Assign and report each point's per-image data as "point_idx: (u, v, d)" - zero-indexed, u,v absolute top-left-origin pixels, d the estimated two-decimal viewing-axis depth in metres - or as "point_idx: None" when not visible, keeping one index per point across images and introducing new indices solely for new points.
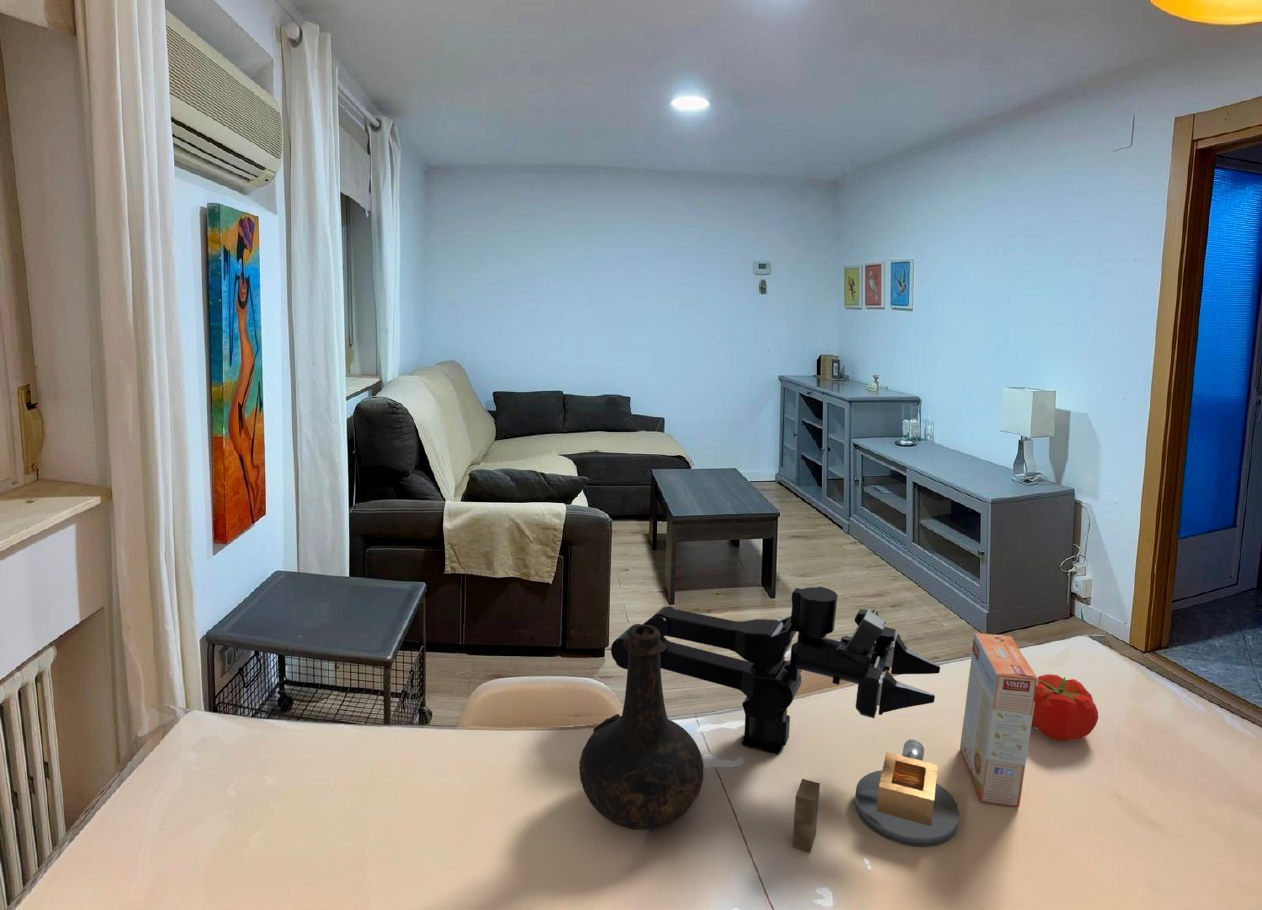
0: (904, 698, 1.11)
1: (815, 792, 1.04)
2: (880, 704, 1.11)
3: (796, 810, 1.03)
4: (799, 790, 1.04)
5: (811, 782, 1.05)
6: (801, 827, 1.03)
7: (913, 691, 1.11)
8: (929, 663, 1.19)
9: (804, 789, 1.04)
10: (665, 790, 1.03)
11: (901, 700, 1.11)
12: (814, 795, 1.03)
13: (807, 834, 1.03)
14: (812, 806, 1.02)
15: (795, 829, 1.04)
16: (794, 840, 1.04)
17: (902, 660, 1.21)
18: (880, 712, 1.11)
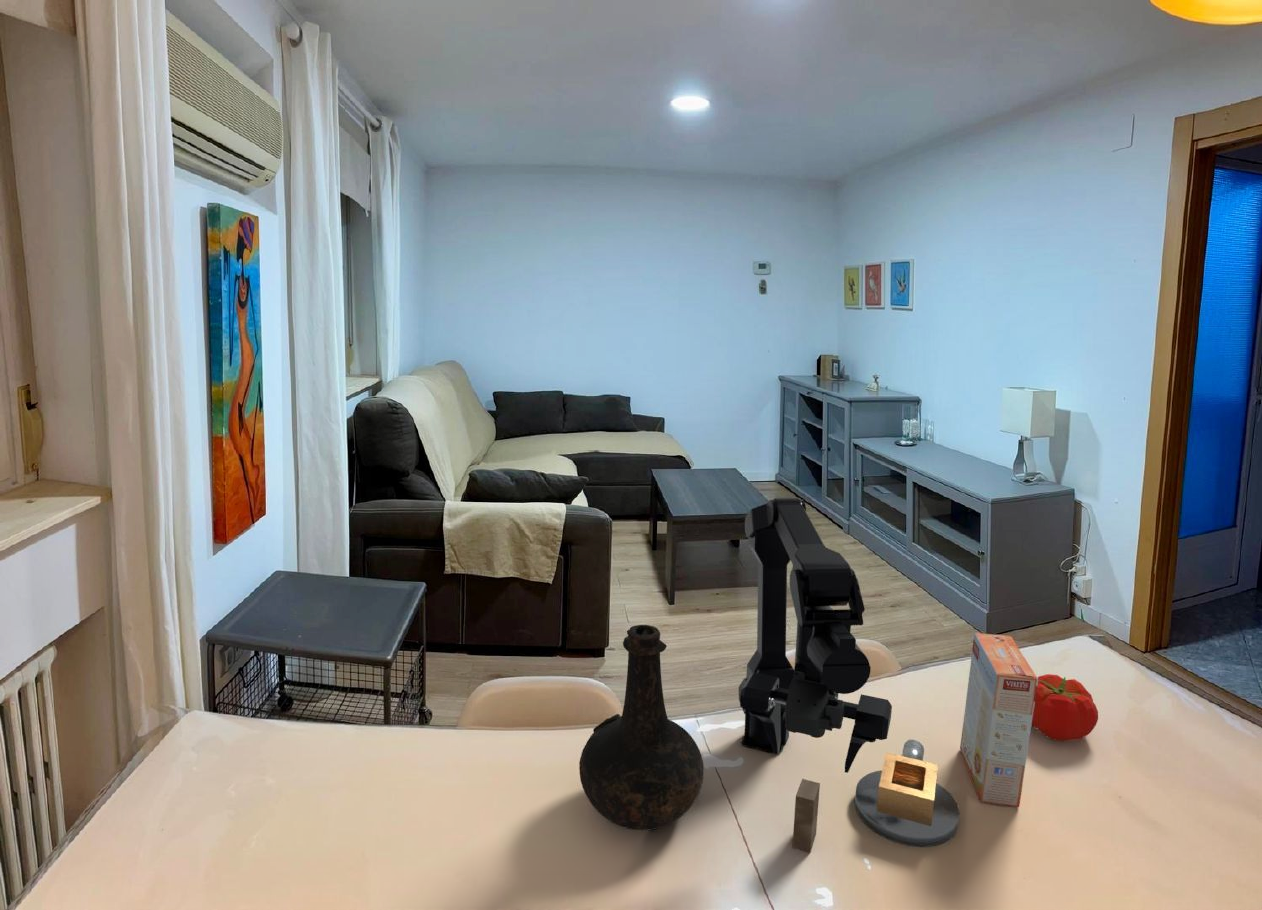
0: None
1: (815, 792, 1.04)
2: None
3: (796, 810, 1.03)
4: (799, 790, 1.04)
5: (811, 782, 1.05)
6: (801, 827, 1.03)
7: (768, 736, 1.04)
8: (845, 762, 1.00)
9: (804, 789, 1.04)
10: (665, 790, 1.03)
11: None
12: (814, 795, 1.03)
13: (807, 834, 1.03)
14: (812, 806, 1.02)
15: (795, 829, 1.04)
16: (794, 840, 1.04)
17: None
18: None
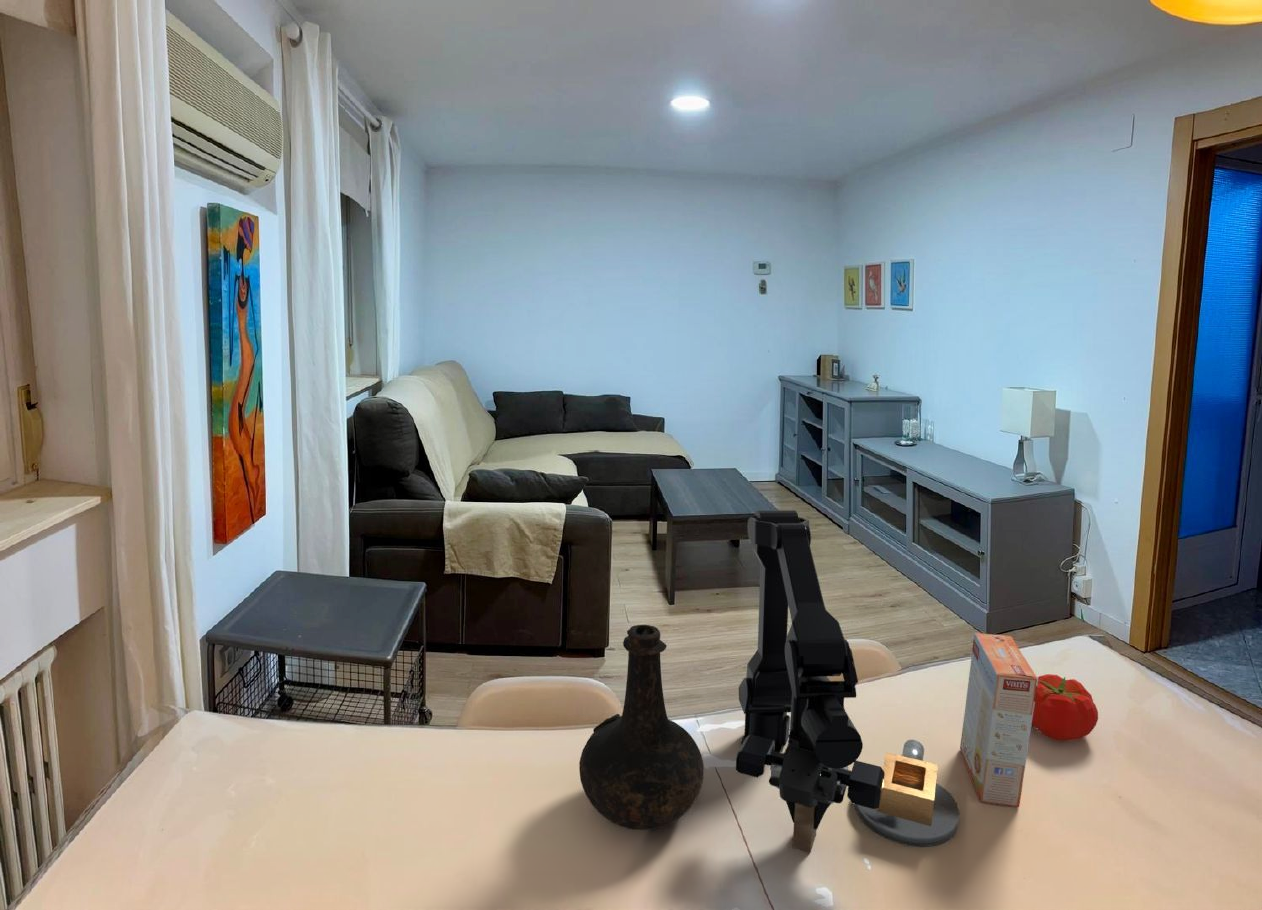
0: None
1: None
2: None
3: (796, 810, 1.03)
4: None
5: None
6: (801, 826, 1.03)
7: None
8: (814, 820, 1.04)
9: None
10: (665, 789, 1.03)
11: None
12: None
13: (807, 834, 1.03)
14: None
15: (795, 829, 1.04)
16: (794, 840, 1.04)
17: None
18: None
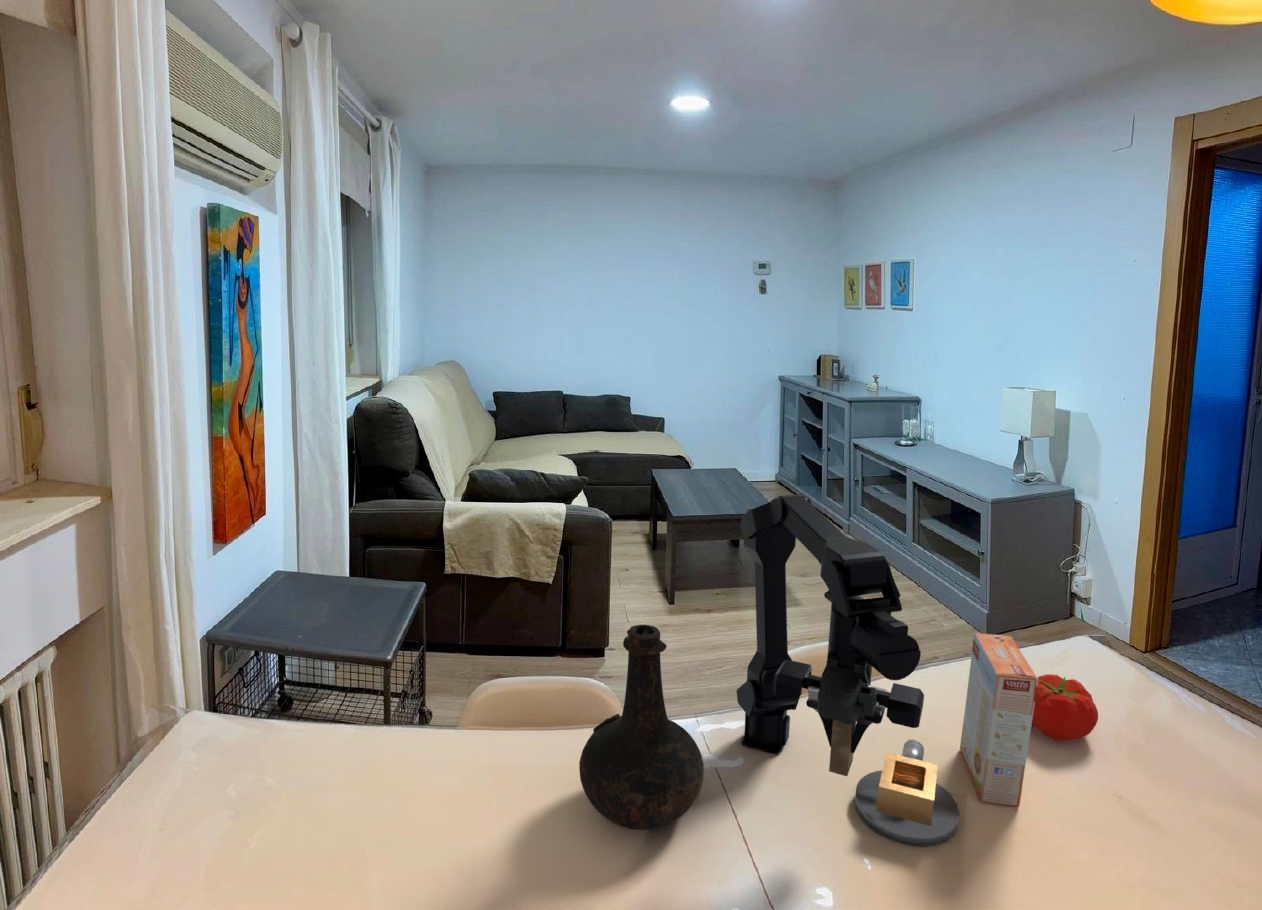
0: None
1: None
2: None
3: (833, 732, 1.03)
4: None
5: None
6: (838, 749, 1.03)
7: (824, 728, 1.04)
8: None
9: None
10: (665, 789, 1.03)
11: None
12: None
13: (844, 757, 1.03)
14: (850, 728, 1.01)
15: (832, 752, 1.03)
16: (831, 763, 1.04)
17: None
18: None
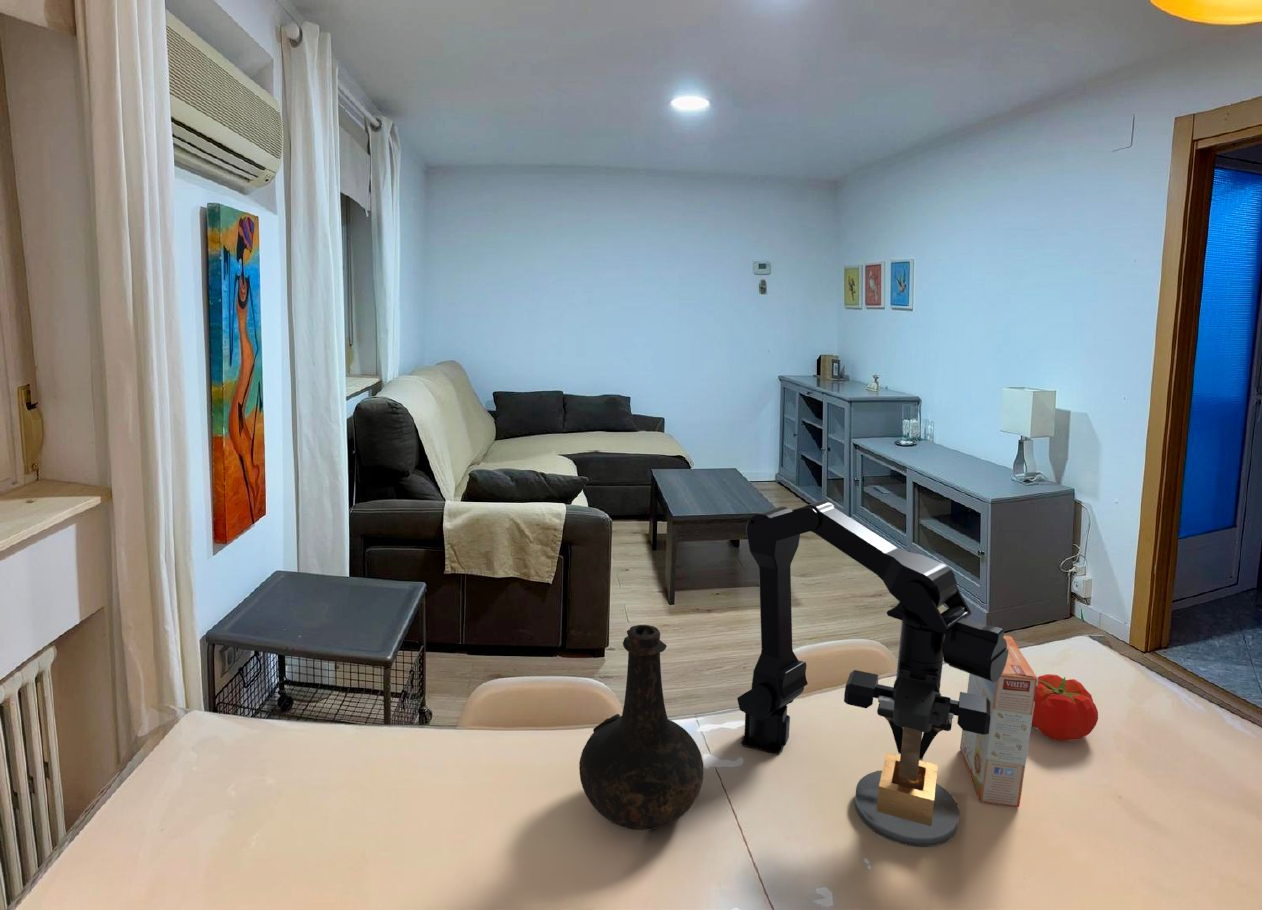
0: None
1: None
2: None
3: (903, 739, 1.08)
4: None
5: None
6: (908, 755, 1.08)
7: None
8: (920, 749, 1.08)
9: None
10: (665, 790, 1.03)
11: None
12: None
13: (914, 763, 1.08)
14: (920, 735, 1.06)
15: (902, 758, 1.08)
16: (900, 769, 1.09)
17: None
18: None
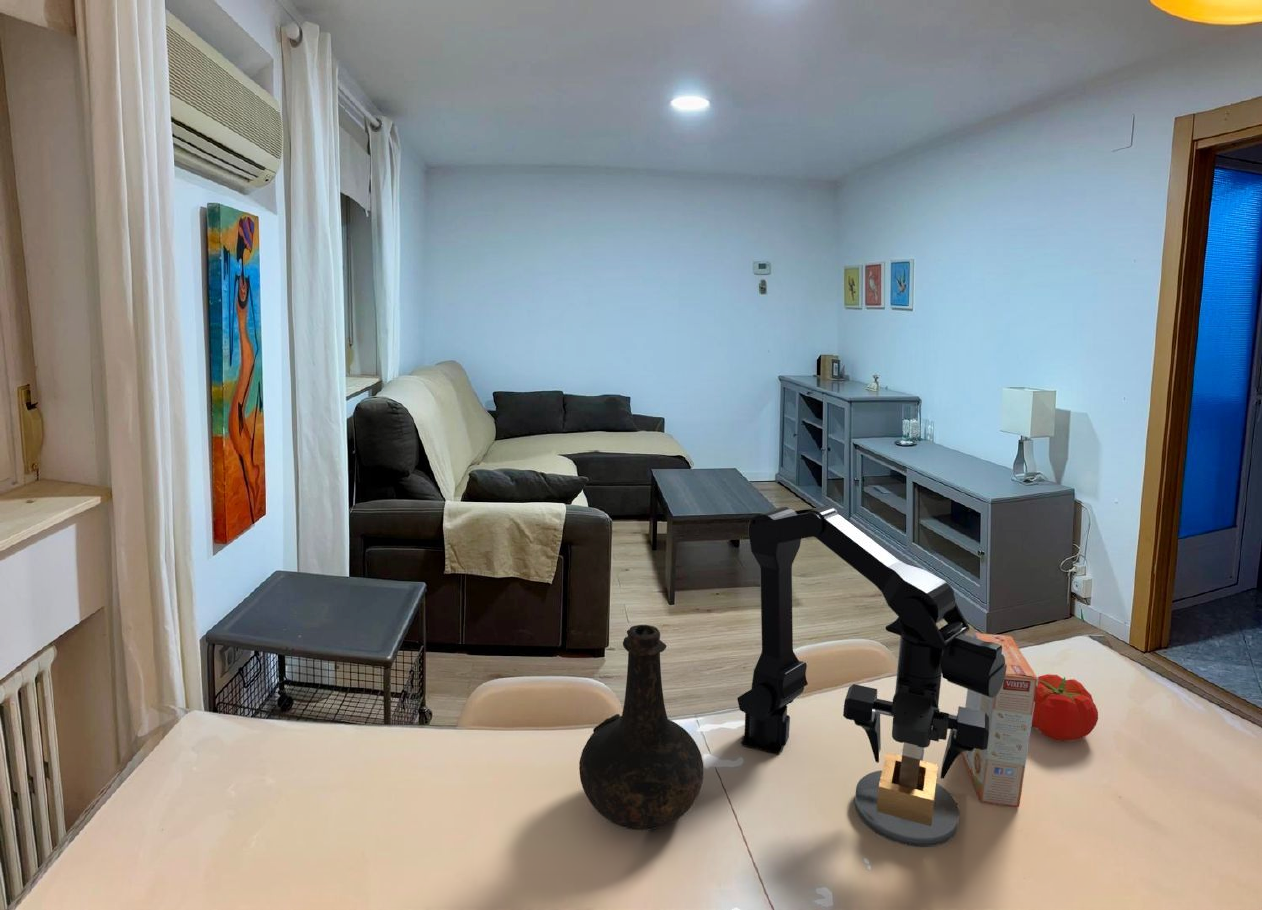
0: None
1: (919, 752, 1.09)
2: None
3: (902, 769, 1.09)
4: (904, 750, 1.09)
5: None
6: (906, 785, 1.09)
7: (871, 744, 1.11)
8: (942, 769, 1.08)
9: (908, 750, 1.09)
10: (665, 790, 1.03)
11: None
12: (919, 755, 1.08)
13: None
14: (918, 765, 1.08)
15: None
16: None
17: (948, 742, 1.07)
18: None
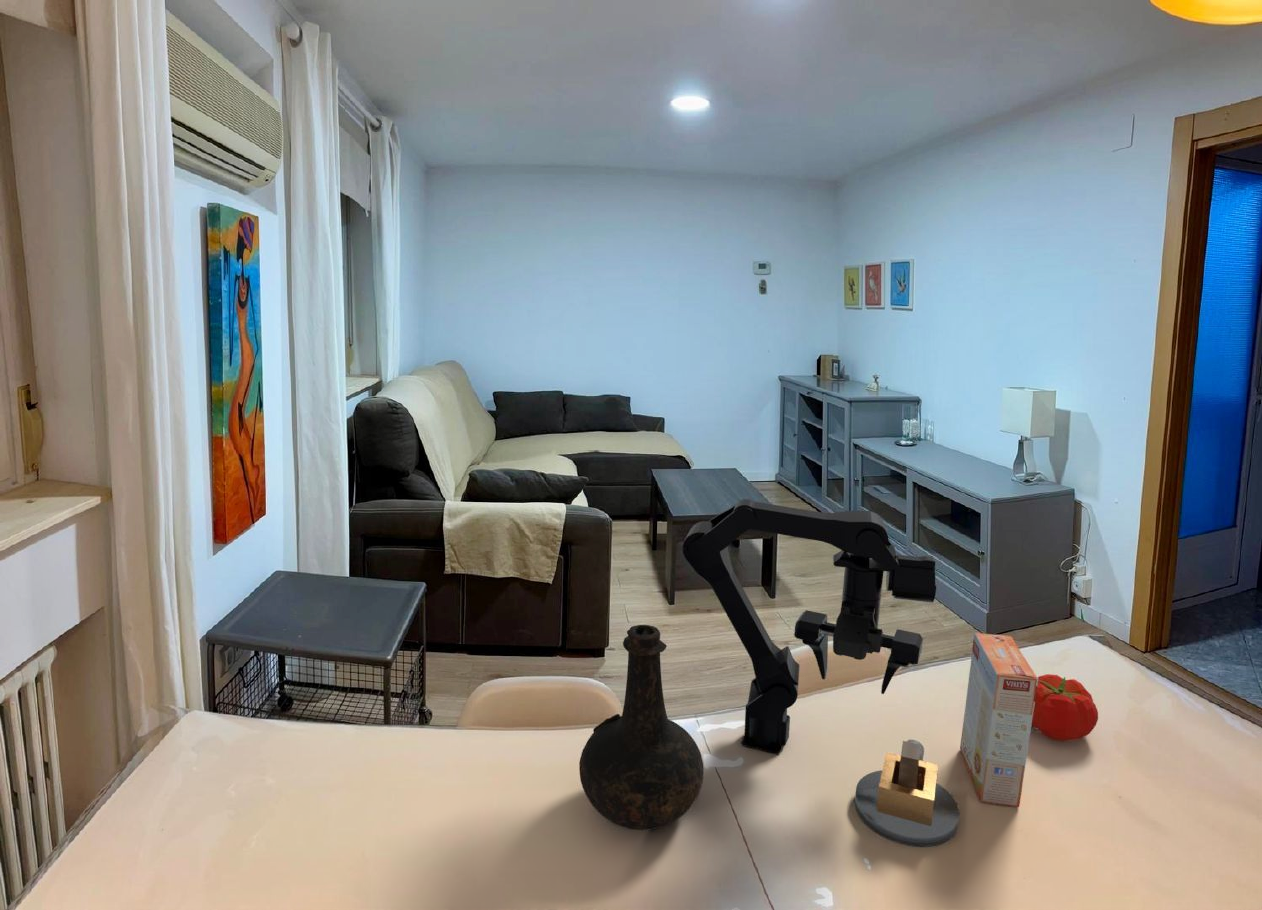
0: None
1: (918, 752, 1.09)
2: None
3: (901, 770, 1.09)
4: (903, 751, 1.09)
5: (912, 744, 1.11)
6: (906, 785, 1.09)
7: None
8: (882, 685, 1.20)
9: (907, 750, 1.09)
10: (665, 790, 1.03)
11: None
12: (918, 755, 1.08)
13: None
14: (917, 765, 1.08)
15: None
16: None
17: None
18: None
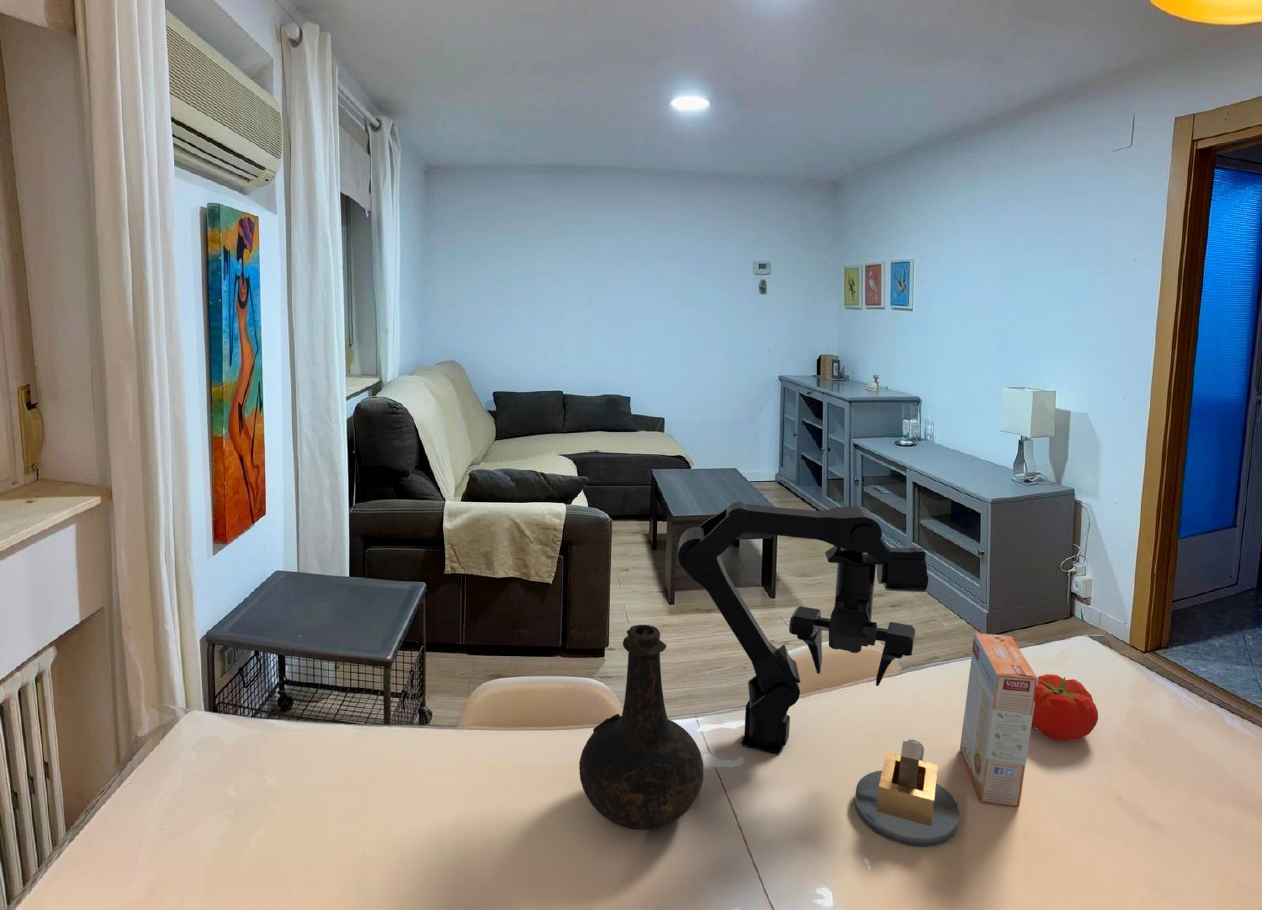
0: None
1: (918, 752, 1.09)
2: None
3: (901, 770, 1.09)
4: (903, 751, 1.09)
5: (912, 744, 1.11)
6: (906, 785, 1.09)
7: (812, 657, 1.26)
8: (876, 677, 1.22)
9: (907, 750, 1.09)
10: (665, 789, 1.03)
11: None
12: (918, 755, 1.08)
13: None
14: (917, 765, 1.08)
15: None
16: None
17: None
18: None
